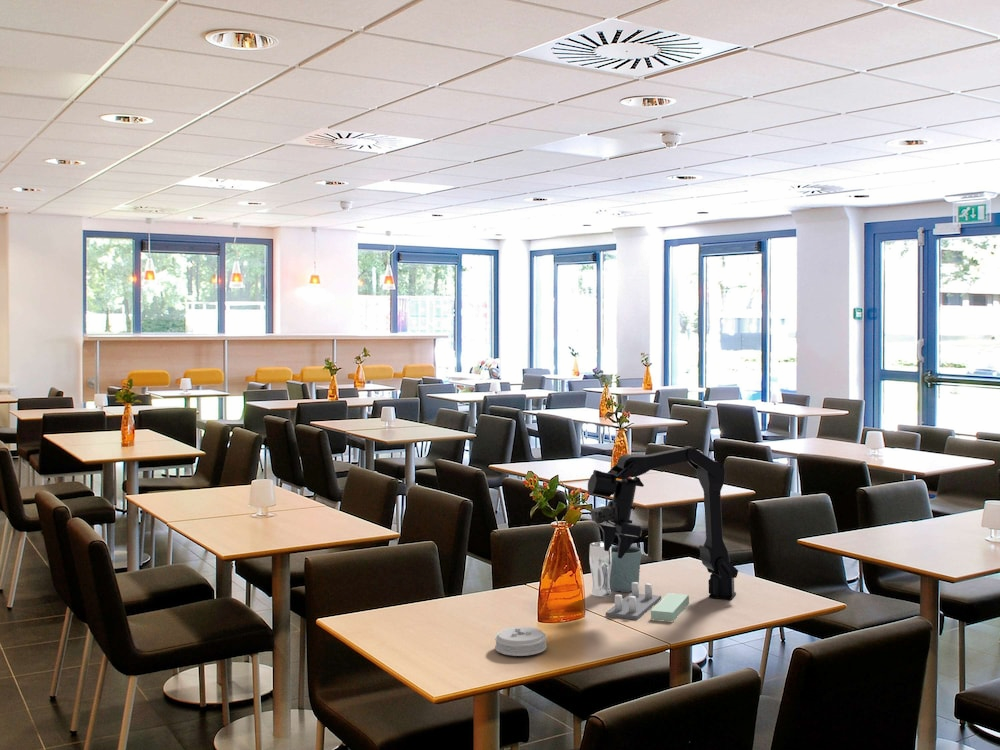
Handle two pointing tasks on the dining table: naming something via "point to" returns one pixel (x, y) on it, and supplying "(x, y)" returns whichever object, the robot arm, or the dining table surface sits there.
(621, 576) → the teal cylinder
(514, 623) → the dining table surface
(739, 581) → the dining table surface
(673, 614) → the plank
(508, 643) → the lid
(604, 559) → the beer glass
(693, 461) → the robot arm
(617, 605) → the peg stand
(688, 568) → the dining table surface
